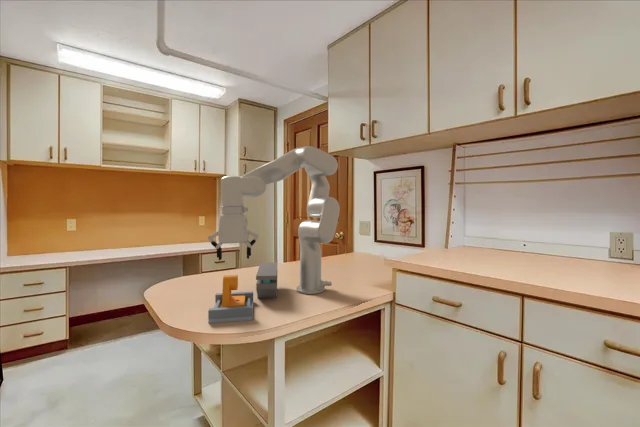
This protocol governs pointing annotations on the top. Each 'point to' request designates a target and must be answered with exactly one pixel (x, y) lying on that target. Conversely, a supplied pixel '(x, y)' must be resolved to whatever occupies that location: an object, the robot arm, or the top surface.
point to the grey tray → (231, 309)
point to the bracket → (227, 299)
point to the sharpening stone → (267, 280)
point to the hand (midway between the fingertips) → (234, 258)
